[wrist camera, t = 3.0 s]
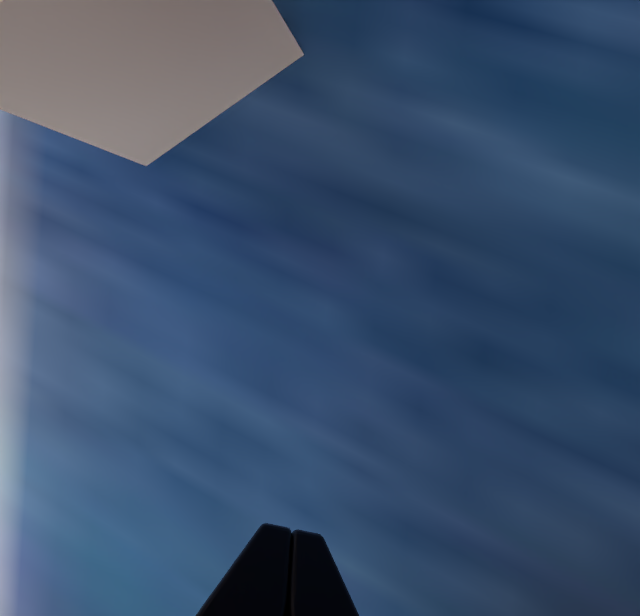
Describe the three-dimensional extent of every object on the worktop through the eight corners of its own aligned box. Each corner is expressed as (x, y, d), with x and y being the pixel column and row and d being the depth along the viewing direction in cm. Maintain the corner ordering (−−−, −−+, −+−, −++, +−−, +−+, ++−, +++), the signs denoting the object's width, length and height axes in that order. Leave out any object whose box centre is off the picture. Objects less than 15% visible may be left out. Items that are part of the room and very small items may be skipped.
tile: (304, 54, 18) (180, -151, 10) (146, 166, 20) (-86, 76, 11) (282, 18, 18) (141, -219, 10) (127, 131, 20) (-116, 16, 11)
